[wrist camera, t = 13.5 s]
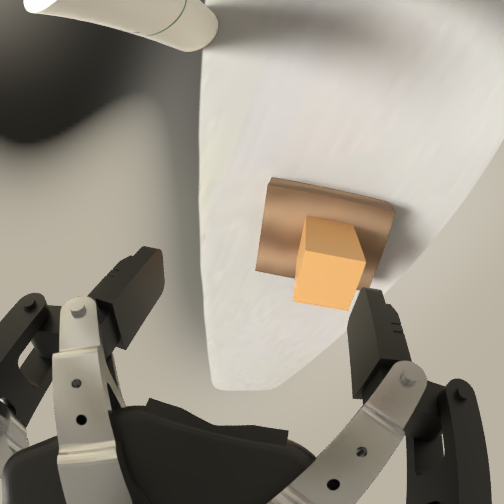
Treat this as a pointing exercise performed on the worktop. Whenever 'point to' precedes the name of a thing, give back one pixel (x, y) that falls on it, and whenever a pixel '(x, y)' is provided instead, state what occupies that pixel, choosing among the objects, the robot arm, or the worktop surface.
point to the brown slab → (325, 207)
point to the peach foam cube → (328, 264)
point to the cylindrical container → (141, 18)
